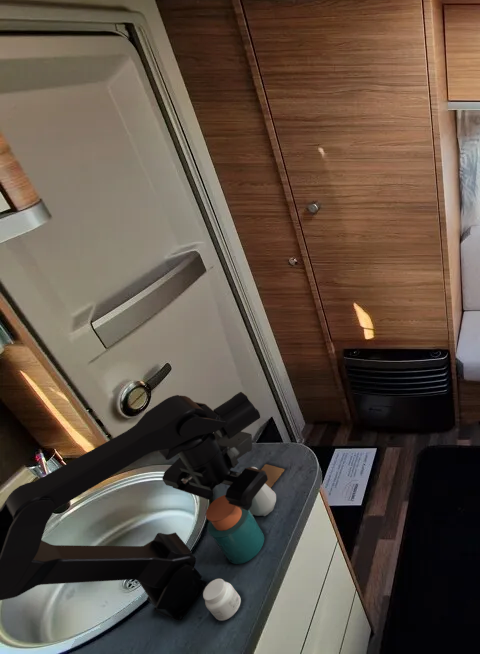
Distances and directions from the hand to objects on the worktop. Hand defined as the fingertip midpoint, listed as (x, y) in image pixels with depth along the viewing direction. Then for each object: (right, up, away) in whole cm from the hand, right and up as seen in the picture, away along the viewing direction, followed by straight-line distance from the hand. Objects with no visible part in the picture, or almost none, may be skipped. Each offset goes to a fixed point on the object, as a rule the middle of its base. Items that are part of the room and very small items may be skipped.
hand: (229, 502), depth 84 cm
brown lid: (0, -3, -1) cm, 3 cm away
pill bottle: (+3, -18, -4) cm, 19 cm away
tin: (0, -12, +5) cm, 13 cm away
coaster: (-3, -4, +18) cm, 19 cm away
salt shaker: (0, -8, +12) cm, 14 cm away
